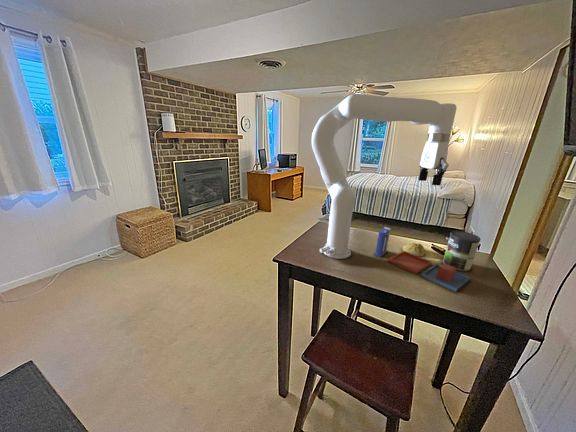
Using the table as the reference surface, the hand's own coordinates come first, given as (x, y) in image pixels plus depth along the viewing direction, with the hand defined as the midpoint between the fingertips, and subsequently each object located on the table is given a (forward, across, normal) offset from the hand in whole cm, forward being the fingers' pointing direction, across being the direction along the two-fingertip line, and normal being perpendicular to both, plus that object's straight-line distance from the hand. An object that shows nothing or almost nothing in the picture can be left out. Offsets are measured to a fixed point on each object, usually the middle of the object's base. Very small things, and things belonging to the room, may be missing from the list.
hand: (428, 182), depth 99 cm
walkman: (+34, -3, -14) cm, 37 cm away
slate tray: (+34, +17, +4) cm, 38 cm away
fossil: (+34, -5, +3) cm, 35 cm away
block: (+34, +17, +4) cm, 38 cm away
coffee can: (+35, +7, +16) cm, 38 cm away
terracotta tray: (+34, +6, -5) cm, 35 cm away
